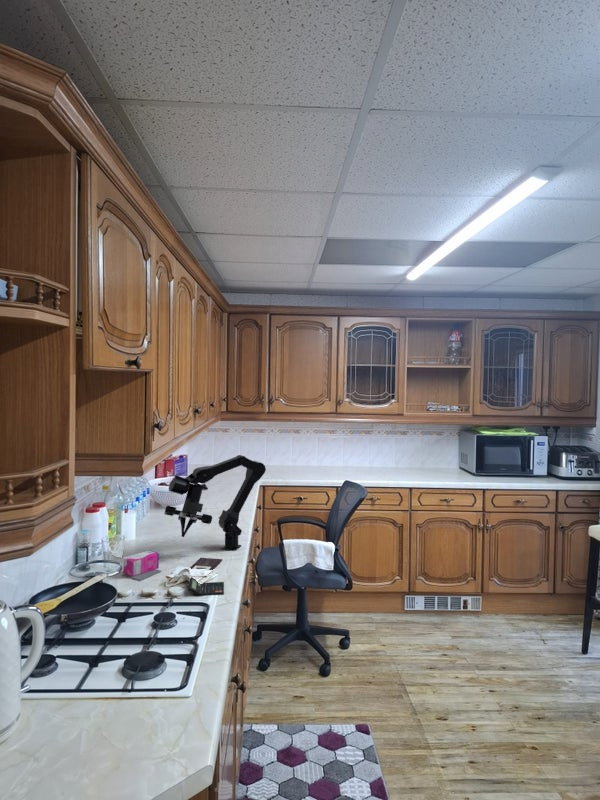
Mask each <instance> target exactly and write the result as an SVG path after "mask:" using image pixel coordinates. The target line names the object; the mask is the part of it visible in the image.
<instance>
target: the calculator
mask: <svg viewBox="0 0 600 800" xmlns="http://www.w3.org/2000/svg"><path fill="white" fill-rule="evenodd" d="M196 580H197V579H195V578H193V576H190V578H189V580H188V587H187V591H188V592H191V593H192V594H195V595H196V596H203V597H204V596H216V595H217V596H223V595H224V594H225V582H224V581H216V582H202V583H203V584H200V583H198V582H197V581H196Z"/></svg>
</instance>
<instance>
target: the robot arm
mask: <svg viewBox="0 0 600 800" xmlns="http://www.w3.org/2000/svg"><path fill="white" fill-rule="evenodd" d="M241 466H242V467H243V468H245V469H246V470H245V471H246V472H245V477H244V480H243V482H242V484H241V486H240V488H239V490H238V492H237V494H236V496H235V497H234V499H233V501H232V503H231V505H230V507H229V508H228V509H227V510H224V509H223V510H222V511H221V514H220V516H219V517H218V525H219V527H220V529H222V532H224V546H222V547H221V549H222V550H227V549H228V551H236V550H238V549H240V548H241V547H242V544H239V536H241V535H242V532H243V530H242V529H241V528H240V527H239V526H238V523H239V518H240V512H241V511H242V509H243V507H244V505H245V503H246V501H247V499H248V497H249V495H250V493H251V492H252V490H253V489H254V486H255V484H256V483H257V482H258V481H260V479H261V478H262V477H263V476H264V474H265V473H266V471H267V469H266V465H265V464H264V463H262V462H260V461H256V460H251V459H250V458H248V457H246V456H245V455H241V454H238V455H236V456H235V457H232V458H229V459H226V460H223V461H222V462H218V463H215V464H213V465H206V466H205V465H204V466H200V467H196V468H195V469H194V470H193V471H192V473H191V474H189V475H188V476H186V477H182V476H180V475H179V474H175V475H174V477H173V478H172V480H171V481H170V482H169V486H168V492H171V493H175V494H179V495H181V496H182V495H185V494H186V495H185V498H184V499H185V500H184V502H183V503H184V504H183V506H182V510H178V509H177V507H175V506H172V505H171V506H170V505H167V506H165V509H164V512H163V513H164V515H165V516H171V517H173V516H175V515H176V516H178V517H177V520H178V521H180V527H181V538H184V537H185V536H186V534H187V533H188V530H189V529H190V528H191V526H192V525H193V524H196V523H197V521H201V523H202V524H207V525H211V523H212V520H213V516H212V515H211V514H207V513H203V514H198V513H202V510H203V508H204V507H203V506H204V503H200V502H201V501H200V500H201V498H202V497H201V496H202V494H203V491H208V489H209V487H208V486H207V485H206V483H209V481H211V480H213V479H214V478H215V477H217V476H218V475H220V474H222V473H226V472H228V471H231V470H233V469H235V468H238V467H241ZM187 518H189V519H188V521H187V520H186V519H187ZM186 521H187V524H186ZM185 526H186V527H185Z"/></svg>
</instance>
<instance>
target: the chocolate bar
mask: <svg viewBox="0 0 600 800" xmlns="http://www.w3.org/2000/svg"><path fill="white" fill-rule="evenodd" d="M222 562H223V559H222V558H212V557H207V558H206V557H200V558H198V560H196V561H195V562H194V563H193V564H192V565H191V566H190V567H189V568H191V569H206V570H213V569H214V570H215V569H217V567H218V566H219V565H220V564H221V563H222ZM214 570H213V571H214Z"/></svg>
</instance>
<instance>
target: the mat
mask: <svg viewBox="0 0 600 800" xmlns="http://www.w3.org/2000/svg"><path fill="white" fill-rule="evenodd" d="M161 572H162V570H159V569H154V570H151V571H148V572H145V573H142V574H139V575H135V576H132V577H131V576H129V575H127V574H125V573H122V575H121V577H124V578H129V579H132V580H136V581H140V582H141V581H144V580H147V579H148V578H150V577H153V576H154V575H157V574H160V573H161Z"/></svg>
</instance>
